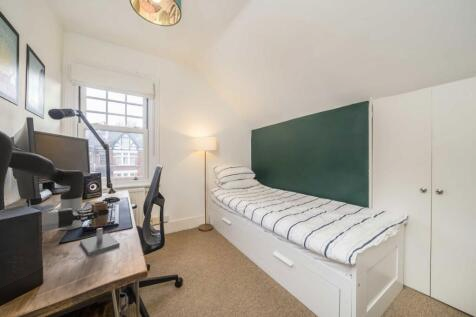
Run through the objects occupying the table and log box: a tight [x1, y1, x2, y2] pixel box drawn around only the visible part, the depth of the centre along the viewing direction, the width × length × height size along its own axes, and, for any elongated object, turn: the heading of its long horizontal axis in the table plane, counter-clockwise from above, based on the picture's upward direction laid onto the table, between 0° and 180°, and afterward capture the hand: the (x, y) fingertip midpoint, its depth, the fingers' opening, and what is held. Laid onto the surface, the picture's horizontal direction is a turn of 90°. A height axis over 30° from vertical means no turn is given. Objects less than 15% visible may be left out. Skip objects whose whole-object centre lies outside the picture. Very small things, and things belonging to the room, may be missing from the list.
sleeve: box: [90, 201, 109, 228], centre depth 84 cm, size 5×5×10 cm
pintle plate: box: [80, 227, 121, 257], centre depth 85 cm, size 17×11×8 cm, turn 50°
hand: (106, 210), depth 86 cm, fingers closed on sleeve, 5 cm apart
